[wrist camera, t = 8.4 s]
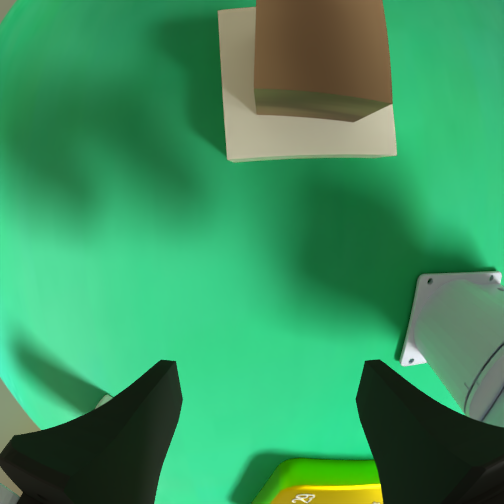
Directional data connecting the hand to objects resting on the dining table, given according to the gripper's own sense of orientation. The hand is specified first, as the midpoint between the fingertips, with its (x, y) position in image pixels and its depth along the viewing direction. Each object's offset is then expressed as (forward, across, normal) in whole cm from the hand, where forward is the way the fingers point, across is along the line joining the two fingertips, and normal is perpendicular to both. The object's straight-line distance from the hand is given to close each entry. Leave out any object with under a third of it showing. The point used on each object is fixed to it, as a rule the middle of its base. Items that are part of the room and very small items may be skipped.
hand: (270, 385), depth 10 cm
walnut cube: (+6, -2, -13) cm, 15 cm away
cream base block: (+10, -2, -13) cm, 17 cm away
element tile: (+11, -7, +28) cm, 31 cm away
